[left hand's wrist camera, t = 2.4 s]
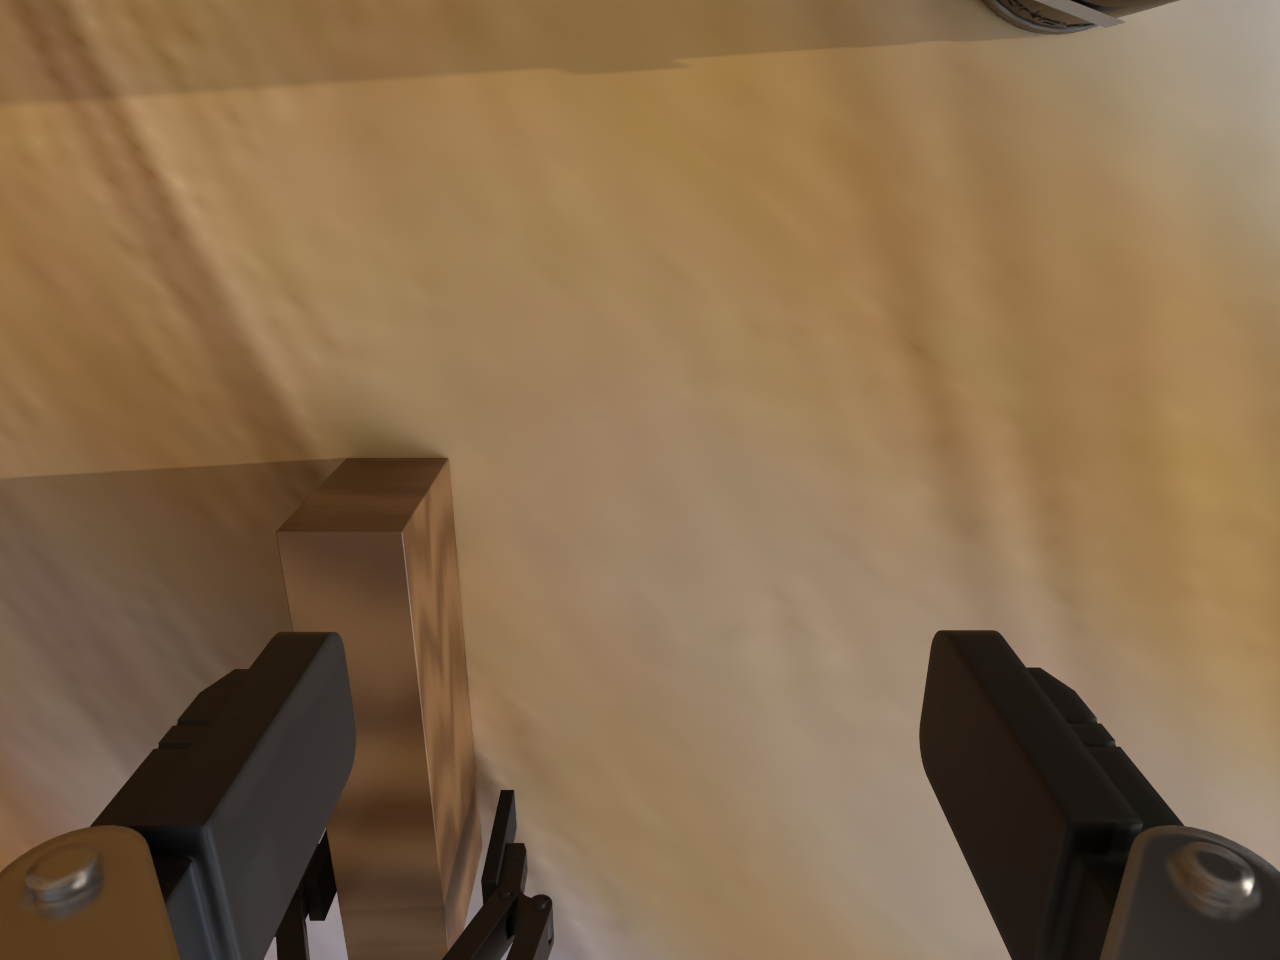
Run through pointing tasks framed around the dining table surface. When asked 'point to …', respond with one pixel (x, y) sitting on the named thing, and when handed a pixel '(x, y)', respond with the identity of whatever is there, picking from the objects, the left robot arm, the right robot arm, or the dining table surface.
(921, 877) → the dining table surface
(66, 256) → the dining table surface
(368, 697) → the bar
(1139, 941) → the left robot arm
